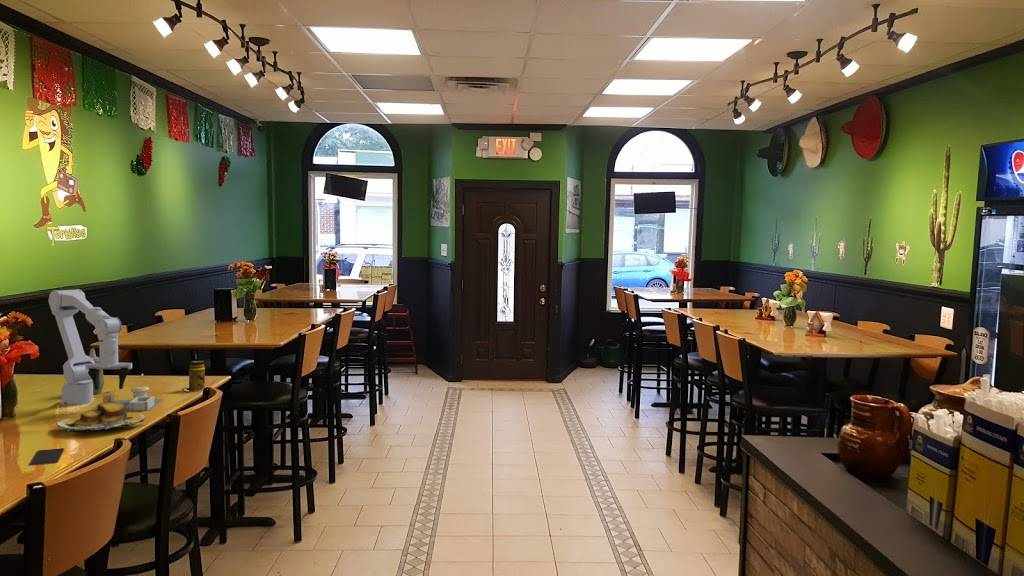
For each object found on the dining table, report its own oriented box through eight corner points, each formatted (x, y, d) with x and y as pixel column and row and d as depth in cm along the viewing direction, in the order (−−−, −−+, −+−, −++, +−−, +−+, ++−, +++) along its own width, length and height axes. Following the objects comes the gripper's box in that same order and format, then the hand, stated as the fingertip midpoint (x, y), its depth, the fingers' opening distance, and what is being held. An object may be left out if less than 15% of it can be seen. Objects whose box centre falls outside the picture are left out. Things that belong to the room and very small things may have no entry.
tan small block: (103, 409, 235) (103, 395, 235) (106, 406, 239) (106, 393, 239) (110, 409, 236) (110, 395, 236) (114, 406, 240) (114, 393, 240)
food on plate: (37, 434, 211) (37, 414, 211) (97, 414, 236) (97, 396, 235) (107, 440, 207) (107, 419, 207) (161, 420, 232) (161, 401, 231)
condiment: (206, 390, 276) (207, 362, 275) (184, 392, 271) (184, 363, 270) (204, 386, 282) (204, 359, 281) (182, 388, 277) (182, 360, 276)
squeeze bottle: (106, 390, 269) (106, 347, 268) (101, 395, 261) (101, 350, 260) (84, 391, 266) (83, 347, 265) (77, 395, 259) (77, 350, 257)
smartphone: (65, 447, 198) (58, 462, 185) (65, 449, 198) (58, 464, 185) (37, 450, 194) (27, 465, 182) (37, 452, 195) (27, 467, 182)
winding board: (88, 416, 232) (88, 398, 231) (104, 404, 248) (104, 387, 248) (150, 414, 237) (150, 396, 236) (162, 402, 253) (162, 386, 253)
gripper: (81, 353, 230) (82, 392, 231) (128, 353, 234) (128, 390, 235) (89, 350, 237) (89, 387, 238) (133, 350, 241) (134, 386, 242)
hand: (109, 388), depth 237 cm, fingers open, 7 cm apart
